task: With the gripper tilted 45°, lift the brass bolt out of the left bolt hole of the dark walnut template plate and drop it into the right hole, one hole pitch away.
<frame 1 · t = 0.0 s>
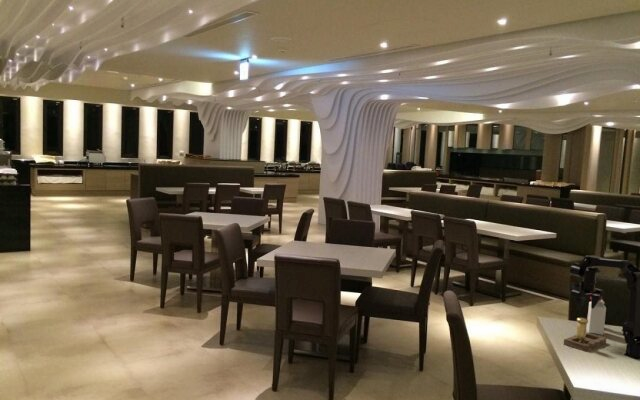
hand: (586, 309, 281), 15 cm above the table, tool pointing down, fingers open, 9 cm apart
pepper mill: (593, 326, 302), on the table
brass bolt: (579, 345, 267), resting in template plate
template plate: (584, 343, 271), on the table
milk carton: (594, 332, 291), on the table
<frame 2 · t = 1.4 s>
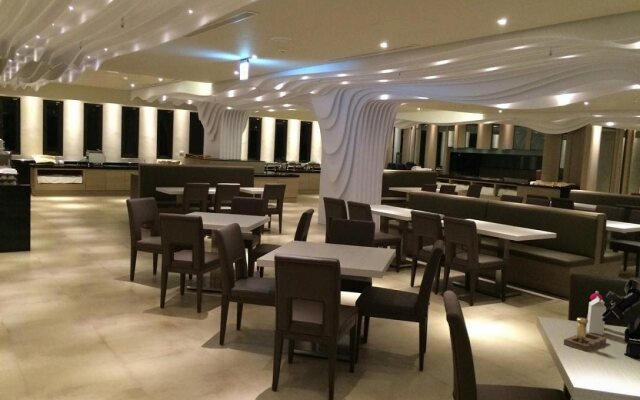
hand: (602, 318, 270), 14 cm above the table, tool tilted 45°, fingers open, 9 cm apart
nothing on the table moved.
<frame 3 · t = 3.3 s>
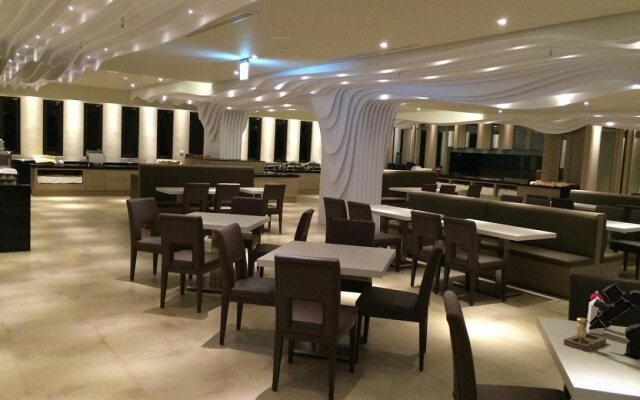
hand: (589, 326, 265), 11 cm above the table, tool tilted 45°, fingers open, 9 cm apart
nothing on the table moved.
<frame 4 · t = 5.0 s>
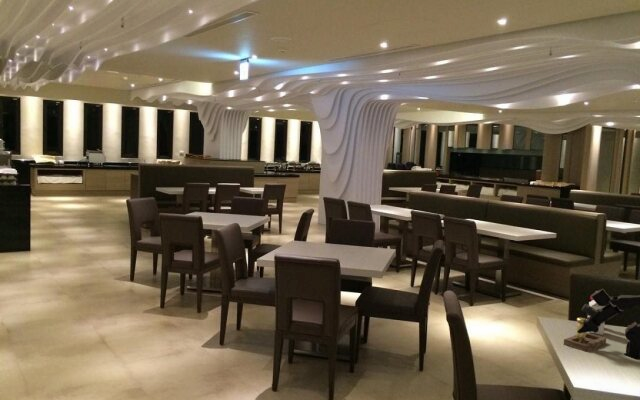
hand: (578, 331, 267), 7 cm above the table, tool tilted 45°, fingers closed on brass bolt, 4 cm apart
brass bolt: (579, 345, 267), resting in template plate, touching gripper
everything else where it was.
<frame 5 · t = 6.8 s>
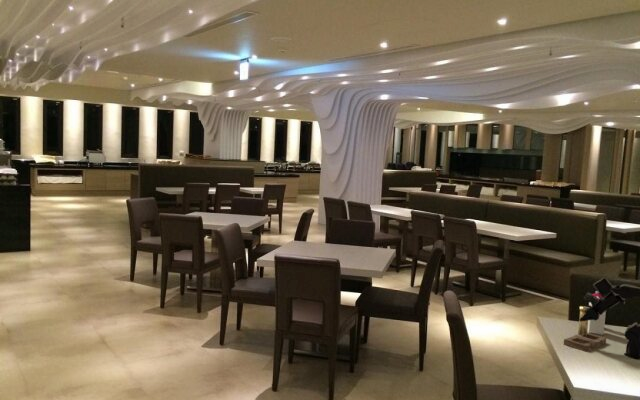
hand: (580, 319, 269), 12 cm above the table, tool tilted 45°, fingers closed on brass bolt, 4 cm apart
brass bolt: (582, 334, 269), point 5 cm above the table, touching gripper
everything else where it was.
when the fingers open (10 cm above the table, at t = 8.5 s): brass bolt drops 3 cm, resting in template plate.
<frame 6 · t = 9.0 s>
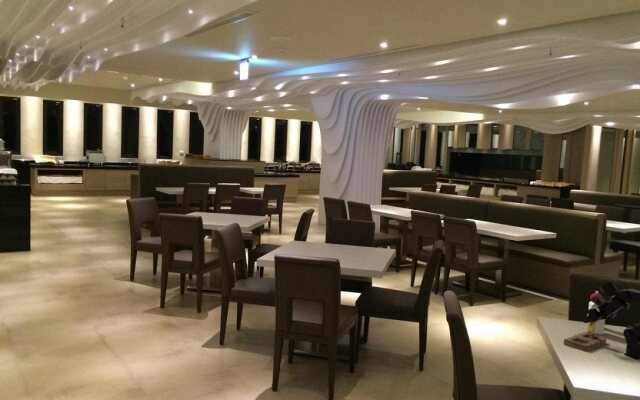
hand: (589, 321, 274), 10 cm above the table, tool tilted 45°, fingers open, 9 cm apart
brass bolt: (590, 341, 274), resting in template plate
everything else where it was.
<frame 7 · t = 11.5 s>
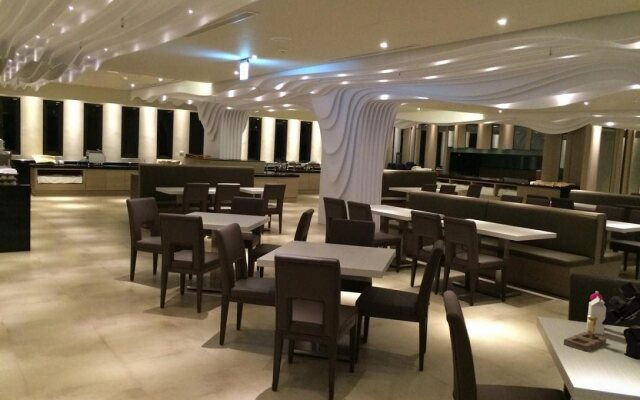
hand: (607, 322, 267), 12 cm above the table, tool tilted 45°, fingers open, 9 cm apart
nothing on the table moved.
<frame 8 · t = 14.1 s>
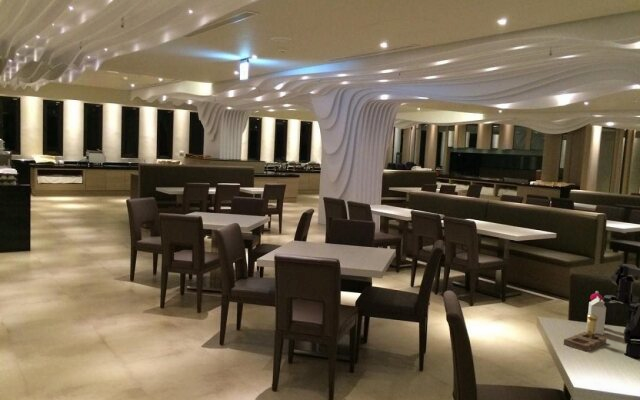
hand: (621, 319, 271), 13 cm above the table, tool pointing down, fingers open, 9 cm apart
nothing on the table moved.
at the end: brass bolt 0.0 cm from the target spot on the template plate, point 0.0 cm above the template plate's base; brass bolt tilted 1°; the gripper is holding nothing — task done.
